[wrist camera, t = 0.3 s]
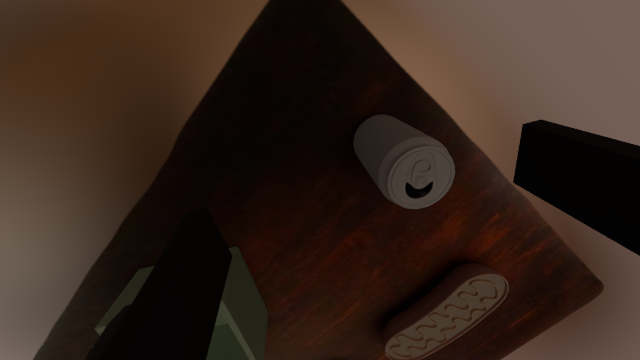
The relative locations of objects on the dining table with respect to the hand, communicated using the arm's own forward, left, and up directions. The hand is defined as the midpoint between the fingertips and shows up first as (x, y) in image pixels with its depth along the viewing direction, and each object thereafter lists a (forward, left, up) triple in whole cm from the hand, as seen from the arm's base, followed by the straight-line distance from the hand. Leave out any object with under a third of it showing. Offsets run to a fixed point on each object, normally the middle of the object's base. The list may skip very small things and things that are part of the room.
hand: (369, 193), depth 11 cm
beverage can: (+5, +6, -21) cm, 22 cm away
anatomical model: (+36, +12, -21) cm, 43 cm away
